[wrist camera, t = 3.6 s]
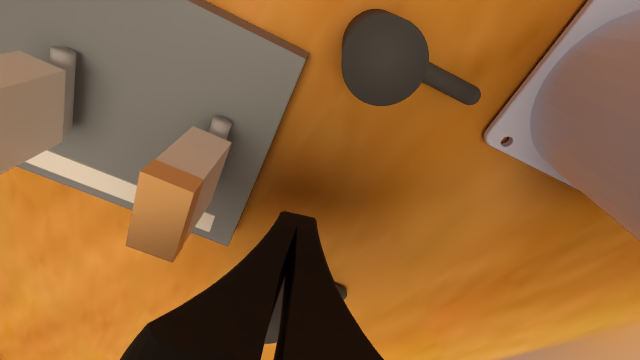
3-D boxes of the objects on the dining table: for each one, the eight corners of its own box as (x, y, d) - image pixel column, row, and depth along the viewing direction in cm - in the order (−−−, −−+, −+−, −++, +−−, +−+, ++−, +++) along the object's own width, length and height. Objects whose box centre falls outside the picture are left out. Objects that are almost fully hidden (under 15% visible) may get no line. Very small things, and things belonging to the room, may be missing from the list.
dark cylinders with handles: (507, 77, 14) (570, 109, 10) (337, 302, 22) (336, 369, 18) (360, -4, 13) (367, -2, 9) (237, 265, 21) (213, 327, 17)
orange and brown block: (91, 58, 13) (-41, 93, 9) (85, 133, 15) (-27, 194, 10) (49, 40, 13) (-110, 65, 8) (48, 118, 14) (-85, 174, 10)
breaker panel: (309, 52, 14) (305, 59, 13) (235, 229, 19) (227, 247, 18) (-145, -175, 11) (-214, -198, 10) (-86, 104, 16) (-125, 114, 15)
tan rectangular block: (243, 126, 14) (195, 188, 10) (220, 188, 16) (171, 265, 11) (207, 110, 14) (141, 166, 9) (188, 175, 16) (125, 249, 11)
